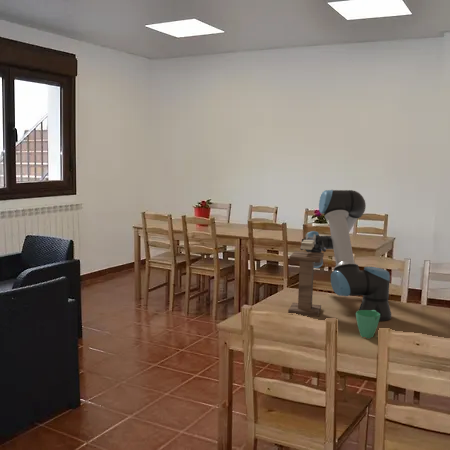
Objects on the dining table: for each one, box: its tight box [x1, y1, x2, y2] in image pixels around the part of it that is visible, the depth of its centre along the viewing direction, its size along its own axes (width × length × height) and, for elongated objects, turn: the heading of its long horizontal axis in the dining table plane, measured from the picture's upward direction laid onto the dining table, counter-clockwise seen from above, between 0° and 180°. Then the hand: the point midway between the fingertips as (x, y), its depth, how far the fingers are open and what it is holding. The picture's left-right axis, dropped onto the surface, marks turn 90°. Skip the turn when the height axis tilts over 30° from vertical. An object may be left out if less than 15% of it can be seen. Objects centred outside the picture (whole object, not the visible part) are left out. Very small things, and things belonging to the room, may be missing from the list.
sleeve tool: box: [300, 237, 314, 250], centre depth 269 cm, size 22×5×3 cm, turn 164°
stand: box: [287, 250, 325, 318], centre depth 264 cm, size 16×14×28 cm
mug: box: [355, 309, 380, 339], centre depth 232 cm, size 15×10×10 cm
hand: (310, 236), depth 272 cm, fingers closed on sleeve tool, 3 cm apart
